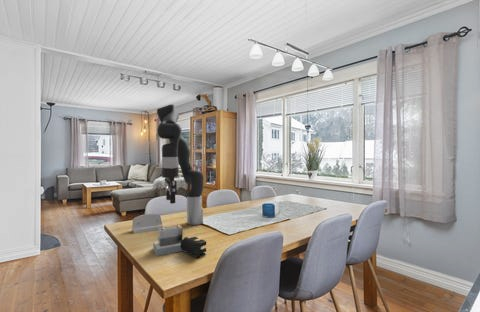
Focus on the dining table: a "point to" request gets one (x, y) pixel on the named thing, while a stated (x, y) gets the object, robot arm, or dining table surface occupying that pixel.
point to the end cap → (193, 246)
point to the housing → (169, 235)
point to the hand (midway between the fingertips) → (170, 201)
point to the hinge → (146, 223)
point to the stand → (166, 249)
